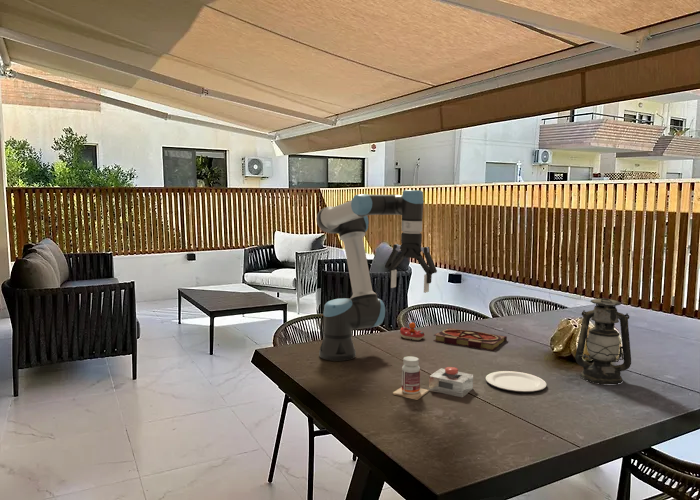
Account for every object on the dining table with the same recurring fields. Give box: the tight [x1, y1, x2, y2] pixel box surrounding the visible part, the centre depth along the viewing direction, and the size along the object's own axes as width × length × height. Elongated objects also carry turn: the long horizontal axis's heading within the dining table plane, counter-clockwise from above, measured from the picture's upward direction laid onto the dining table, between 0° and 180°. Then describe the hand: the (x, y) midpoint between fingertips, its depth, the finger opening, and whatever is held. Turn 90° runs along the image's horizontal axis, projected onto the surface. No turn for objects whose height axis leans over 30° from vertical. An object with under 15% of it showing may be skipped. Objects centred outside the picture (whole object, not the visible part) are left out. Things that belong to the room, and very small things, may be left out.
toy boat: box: [399, 321, 425, 341], centre depth 247 cm, size 8×12×8 cm, turn 58°
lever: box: [444, 366, 459, 378], centre depth 180 cm, size 4×4×6 cm
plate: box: [485, 370, 548, 393], centre depth 186 cm, size 21×21×2 cm
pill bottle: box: [401, 355, 421, 394], centre depth 176 cm, size 6×6×11 cm
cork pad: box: [392, 386, 430, 401], centre depth 176 cm, size 9×9×1 cm
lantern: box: [574, 298, 632, 385], centre depth 189 cm, size 19×19×30 cm
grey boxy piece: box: [428, 367, 474, 398], centre depth 180 cm, size 12×10×5 cm
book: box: [433, 327, 508, 352], centre depth 243 cm, size 28×21×5 cm
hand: (409, 289), depth 193 cm, fingers open, 13 cm apart
